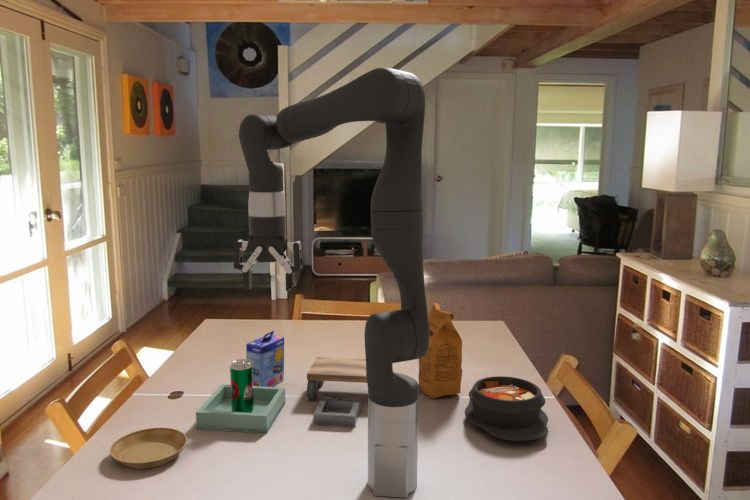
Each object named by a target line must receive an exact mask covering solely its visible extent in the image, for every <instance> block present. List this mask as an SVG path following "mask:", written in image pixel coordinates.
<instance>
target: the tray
mask: <svg viewBox="0 0 750 500" xmlns="http://www.w3.org/2000/svg"><path fill="white" fill-rule="evenodd" d="M253 397H254V409H253V411H252V412H251V413H244V412H232V406H231V384H220V386H219V387H217V388H216V390H215V391H213V393H212V394H211V395H210V396H209V397H208V399H206V400H205V402H204V403H203V404H202V405H201V406H200V407H199V409H197V411H195V422H196V430H202V431H203V430H205V431H221V432H222V431H223V432H237V433H238V432H239V433H254V434H257V433H258V434H268V433H269V431H270V429H271V428H272V426H273V424H274V422H275V421H276V419H277V418H278V416H279V414H280V413H281V411H282V410H283V408H284V406H285V405H286V387H281V386H279V387H278V386H272V387H263V386H253Z"/></svg>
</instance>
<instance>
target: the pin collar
mask: <svg viewBox="0 0 750 500" xmlns="http://www.w3.org/2000/svg"><path fill="white" fill-rule="evenodd" d="M361 403H362V399H358V398H357V399H356V398H341V397H339V398H337V397H334V398H333V397H321V398H320V401H319V402H318V404H317V407H316V409H315V411H314V413H313V425H314V426H331V427H345V428H356V425H357V422H358V419H359V416H360V414H361V411H362V409H361V408H362V405H361ZM327 411H334V412H327ZM335 411H338V412H335ZM342 412H344V413H342ZM345 412H349V413H345Z"/></svg>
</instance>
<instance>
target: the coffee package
mask: <svg viewBox="0 0 750 500" xmlns="http://www.w3.org/2000/svg"><path fill="white" fill-rule="evenodd" d="M453 319H455V315H454V313H452V312H448V311H443V310H441V306H440V304H438V302H434V303H433V304H432V307H431V309H430V311H429V313H428V321H429V346H428V350H427V352H426V354H425V355H424V356H423V357H422V358H419V359H418V386H420V387H419V388H420V389H421V391H422V393H423V394H424V395H426V396H428V397H429V398H430V399H437V398H441V397H444V396H455V395H459V394H461V393H462V392H461V390H462V389H461V386H462V377H463V367H462V362H463V339H462V337H461V335H460V333H459V332H458V330H457V329H456V327H455V326H454V324H453V322H452V320H453Z"/></svg>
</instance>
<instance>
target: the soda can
mask: <svg viewBox="0 0 750 500" xmlns="http://www.w3.org/2000/svg"><path fill="white" fill-rule="evenodd" d="M229 374H230V377H229V378H230V379H229V380H230V385H231V406H232V412H244V413H251V412H252V411H253V409H254V397H253V366H252V364H251V361H250V360H247V358H239V359H235V360H232V361H231V365H230V366H229Z"/></svg>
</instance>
